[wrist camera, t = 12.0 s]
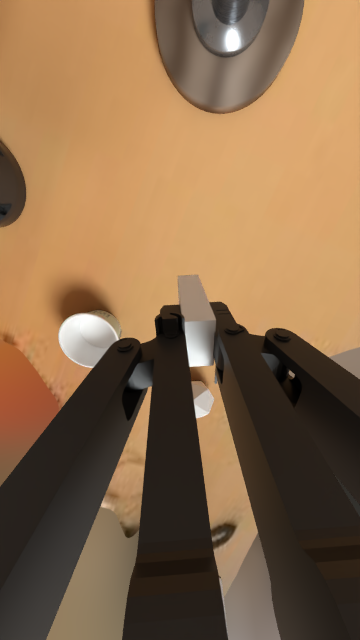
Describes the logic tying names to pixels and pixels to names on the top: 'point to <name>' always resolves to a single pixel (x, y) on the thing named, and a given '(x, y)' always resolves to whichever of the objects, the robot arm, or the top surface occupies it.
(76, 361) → the food container
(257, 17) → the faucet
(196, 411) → the die
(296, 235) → the top surface
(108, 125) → the top surface
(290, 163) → the top surface
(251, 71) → the dial base
